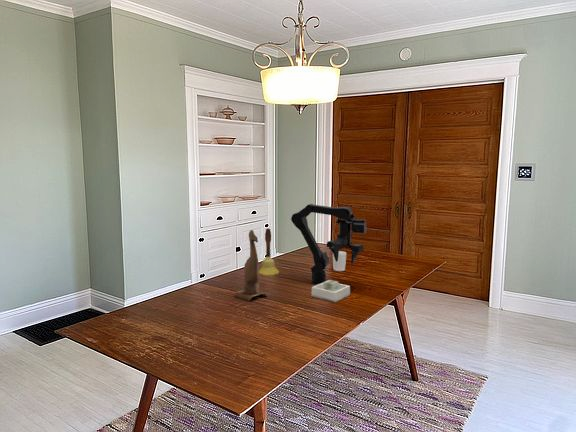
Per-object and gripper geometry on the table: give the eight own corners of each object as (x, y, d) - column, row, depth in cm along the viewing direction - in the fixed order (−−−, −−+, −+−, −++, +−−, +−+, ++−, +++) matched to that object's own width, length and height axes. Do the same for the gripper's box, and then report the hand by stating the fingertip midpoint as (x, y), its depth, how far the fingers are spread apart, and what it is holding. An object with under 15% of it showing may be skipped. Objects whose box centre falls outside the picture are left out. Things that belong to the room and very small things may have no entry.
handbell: (283, 273, 243) (283, 229, 239) (264, 276, 236) (264, 231, 232) (271, 268, 253) (271, 226, 249) (253, 271, 246) (252, 228, 242)
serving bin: (311, 296, 204) (311, 287, 203) (327, 289, 214) (327, 280, 213) (334, 302, 196) (335, 292, 195) (349, 295, 206) (350, 286, 205)
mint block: (323, 294, 204) (323, 282, 203) (329, 291, 208) (329, 279, 207) (332, 296, 201) (332, 284, 200) (338, 293, 205) (338, 281, 204)
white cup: (345, 271, 245) (345, 254, 244) (331, 271, 247) (331, 253, 246) (346, 268, 253) (346, 251, 252) (333, 267, 255) (333, 250, 253)
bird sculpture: (250, 303, 196) (252, 234, 190) (233, 296, 203) (234, 229, 198) (268, 297, 204) (269, 230, 199) (251, 291, 212) (252, 227, 206)
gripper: (320, 232, 216) (320, 262, 218) (352, 237, 204) (352, 269, 207) (332, 229, 224) (332, 258, 227) (364, 233, 213) (363, 264, 215)
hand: (344, 262), depth 219 cm, fingers open, 9 cm apart
